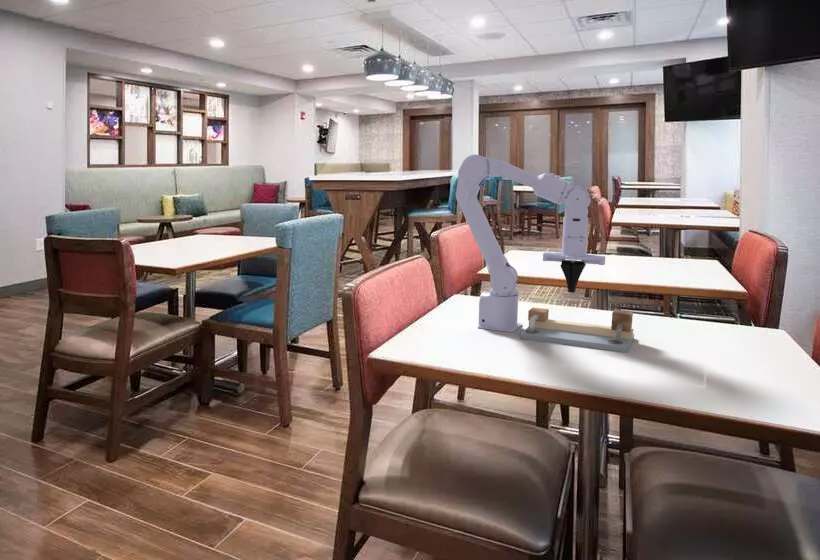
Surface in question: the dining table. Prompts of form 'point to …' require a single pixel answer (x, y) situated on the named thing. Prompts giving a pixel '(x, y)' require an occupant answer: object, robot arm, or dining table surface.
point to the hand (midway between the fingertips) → (571, 291)
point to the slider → (621, 322)
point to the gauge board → (574, 332)
